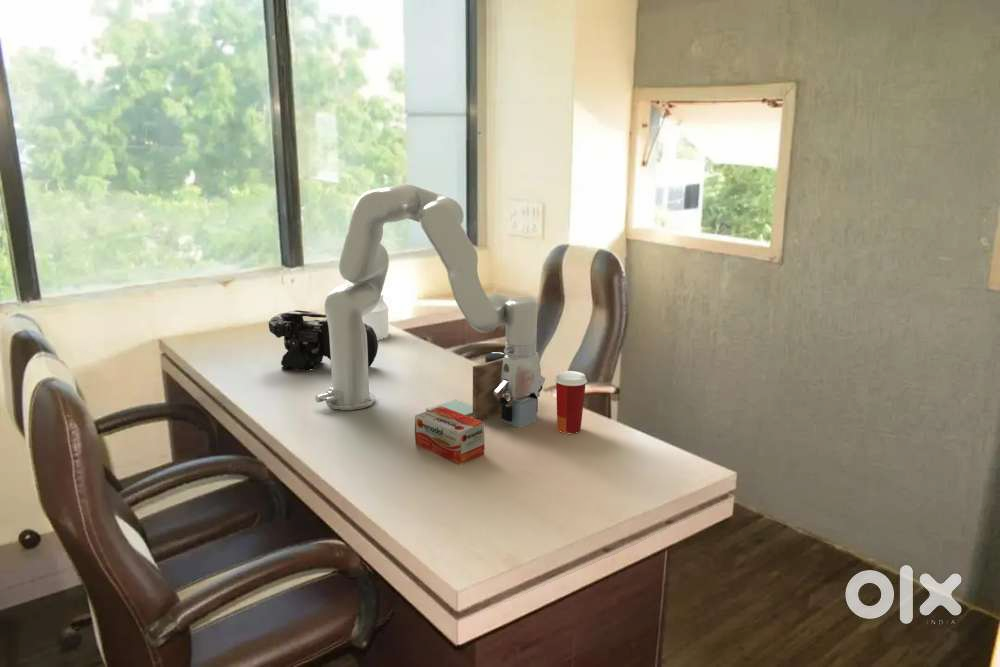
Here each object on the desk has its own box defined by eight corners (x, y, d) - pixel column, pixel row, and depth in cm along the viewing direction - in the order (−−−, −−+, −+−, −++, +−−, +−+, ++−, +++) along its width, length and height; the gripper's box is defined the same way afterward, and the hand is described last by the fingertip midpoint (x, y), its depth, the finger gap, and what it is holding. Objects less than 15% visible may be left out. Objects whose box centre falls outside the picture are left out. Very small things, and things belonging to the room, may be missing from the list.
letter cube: (519, 428, 188) (519, 404, 186) (502, 421, 192) (502, 397, 191) (536, 421, 192) (536, 398, 190) (519, 415, 196) (519, 392, 195)
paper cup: (587, 426, 189) (590, 372, 186) (580, 437, 182) (583, 382, 179) (557, 421, 192) (559, 368, 188) (548, 433, 185) (550, 378, 181)
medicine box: (414, 446, 177) (413, 414, 175) (440, 436, 183) (439, 404, 180) (460, 466, 167) (460, 432, 165) (486, 455, 173) (486, 422, 171)
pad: (451, 421, 191) (451, 419, 191) (426, 410, 198) (426, 408, 198) (480, 411, 198) (480, 409, 198) (455, 401, 205) (455, 399, 205)
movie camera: (262, 374, 222) (261, 315, 218) (283, 359, 239) (283, 304, 235) (368, 382, 220) (369, 323, 216) (381, 366, 237) (383, 311, 234)
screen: (479, 422, 191) (479, 368, 187) (468, 417, 194) (469, 364, 190) (519, 408, 200) (520, 357, 197) (508, 404, 203) (509, 354, 199)
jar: (351, 334, 267) (350, 292, 263) (376, 330, 273) (374, 289, 269) (367, 342, 258) (366, 298, 254) (392, 337, 264) (391, 295, 260)
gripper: (505, 359, 179) (505, 429, 183) (556, 345, 190) (554, 411, 195) (484, 352, 184) (483, 420, 189) (534, 339, 195) (532, 403, 200)
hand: (519, 415), depth 192 cm, fingers open, 8 cm apart
